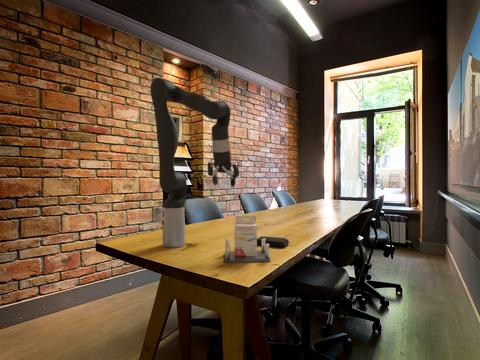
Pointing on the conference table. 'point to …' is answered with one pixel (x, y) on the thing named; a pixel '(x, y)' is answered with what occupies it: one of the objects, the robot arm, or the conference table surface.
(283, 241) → the carrying case or bag
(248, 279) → the conference table surface
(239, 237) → the ink cartridge box
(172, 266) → the conference table surface
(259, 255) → the standoff plate
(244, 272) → the conference table surface
